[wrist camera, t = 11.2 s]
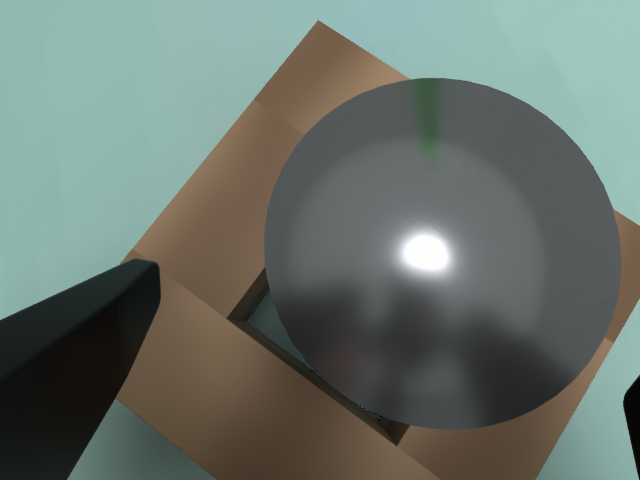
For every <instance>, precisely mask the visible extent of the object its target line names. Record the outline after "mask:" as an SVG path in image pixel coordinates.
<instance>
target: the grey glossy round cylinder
mask: <svg viewBox="0 0 640 480" xmlns="http://www.w3.org/2000/svg"><path fill="white" fill-rule="evenodd" d="M264 258H265V267H266V276H267V280H268V284H269V288H270V292H271V296H272V299H273V302H274V305H275V307H276V310H277V312H278V315H279V317H280V320H281V322H282V324H283V326H284V327H285V329H286V331H287V333H288V335H289V336H290V338H291V340H292V342H293V343H294V345H295V346H296V347H297V349H298V350H299V351H300V353H301V354H302V355H303V357H304V358H305V360H306V361H307V362H308V363H309V364H310V365H311V366H312V367H313V368H314V369H315V371H316V372H317V373H318V374H319V375H320V376H321V377H322V378H323V379H324V380H325V381H326V382H328V383H329V384H330V385H331V386H333V387H334V388H335V389H336V390H338V391H339V392H340V393H342V394H343V395H344V396H345V397H347V398H349V399H350V400H352V401H354V402H355V403H357V404H359V405H360V406H362V407H364V408H365V409H367V410H370V411H372V412H374V413H377V414H379V415H381V416H384V417H386V418H388V419H391V420H394V421H398V422H402V423H405V424H409V425H412V426H417V427H424V428H432V429H439V430H465V429H472V428H479V427H486V426H492V425H495V424H498V423H502V422H505V421H509V420H512V419H515V418H517V417H519V416H521V415H524V414H526V413H528V412H530V411H532V410H535V409H536V408H538V407H540V406H541V405H543V404H544V403H546V402H547V401H549V400H550V399H552V398H553V397H555V396H556V395H558V394H559V393H560V392H561V391H562V390H563V389H564V388H566V387H567V386H568V385H569V384H570V383H571V382H572V381H574V380H575V378H576V377H577V376H578V375H579V374H580V373H581V371H582V370H583V369H584V368H585V367H586V366H587V364H588V363H589V362H590V361H591V359H592V357H593V356H594V354H595V353H596V351H597V349H598V348H599V346H600V345H601V343H602V341H603V339H604V337H605V334H606V332H607V330H608V328H609V325H610V323H611V321H612V318H613V314H614V311H615V307H616V304H617V300H618V295H619V288H620V280H621V246H620V239H619V231H618V226H617V223H616V219H615V215H614V211H613V207H612V205H611V202H610V200H609V197H608V195H607V193H606V190H605V188H604V185H603V184H602V182H601V180H600V178H599V176H598V175H597V173H596V171H595V169H594V167H593V166H592V164H591V163H590V162H589V160H588V159H587V157H586V156H585V155H584V153H583V152H582V151H581V149H580V148H579V147H578V146H577V145H576V143H575V142H574V141H573V140H572V139H571V138H570V137H569V136H568V135H567V134H566V133H565V132H564V131H563V130H562V129H561V128H560V127H559V126H557V125H556V124H555V123H554V122H553V121H552V120H550V119H549V118H548V117H547V116H545V115H544V114H542V113H541V112H539V111H538V110H536V109H535V108H533V107H532V106H530V105H529V104H527V103H525V102H523V101H521V100H519V99H517V98H515V97H513V96H511V95H509V94H507V93H505V92H502V91H499V90H496V89H494V88H491V87H488V86H485V85H481V84H476V83H472V82H468V81H462V80H454V79H445V78H421V79H413V80H405V81H399V82H395V83H391V84H387V85H383V86H379V87H377V88H374V89H371V90H369V91H366V92H363V93H361V94H359V95H357V96H355V97H353V98H351V99H350V100H348V101H346V102H344V103H342V104H341V105H339V106H338V107H336V108H335V109H334V110H332V111H331V112H329V113H328V114H327V115H325V116H324V117H323V118H322V119H321V120H320V121H318V122H317V123H316V124H315V125H314V126H313V127H312V128H311V129H310V130H309V131H308V132H307V133H306V134H305V136H304V137H303V138H302V139H301V140H300V142H299V143H298V144H297V145H296V146H295V148H294V149H293V151H292V153H291V154H290V156H289V157H288V159H287V161H286V162H285V164H284V165H283V168H282V170H281V172H280V174H279V176H278V179H277V181H276V183H275V185H274V188H273V192H272V195H271V198H270V202H269V205H268V210H267V216H266V222H265V229H264Z"/></svg>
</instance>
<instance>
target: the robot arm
mask: <svg viewBox="0 0 640 480" xmlns="http://www.w3.org/2000/svg"><path fill="white" fill-rule="evenodd" d="M160 301H161V284H160V268H159V265H158V263H156V262H155V261H151V260H146V259H141V258H134V259H131V260H129V261H127V262H125V263H123V264H121V265H118V266H116V267H114V268H112V269H110V270H108V271H105V272H103V273H101V274H99V275H97V276H95V277H92V278H90V279H88V280H86V281H84V282H82V283H79V284H77V285H75V286H73V287H71V288H69V289H66V290H64V291H62V292H60V293H58V294H56V295H53V296H51V297H49V298H47V299H45V300H43V301H40V302H38V303H36V304H34V305H32V306H30V307H28V308H25V309H23V310H21V311H19V312H17V313H15V314H12V315H10V316H8V317H6V318H4V319H2V320H0V480H67V479H68V477H69V475H70V474H71V472H72V470H73V468H74V467H75V465H76V463H77V462H78V460H79V458H80V457H81V455H82V453H83V452H84V450H85V448H86V447H87V445H88V443H89V442H90V440H91V438H92V436H93V435H94V433H95V431H96V430H97V428H98V426H99V425H100V423H101V421H102V420H103V418H104V416H105V415H106V413H107V411H108V410H109V408H110V406H111V404H112V403H113V401H114V399H115V398H116V396H117V394H118V393H119V391H120V389H121V387H122V386H123V384H124V382H125V380H126V379H127V377H128V374H129V372H130V370H131V368H132V366H133V364H134V362H135V359H136V357H137V355H138V353H139V350H140V348H141V346H142V344H143V342H144V339H145V337H146V335H147V333H148V330H149V328H150V326H151V324H152V322H153V319H154V317H155V315H156V313H157V310H158V308H159V305H160ZM623 407H624V412H625V416H626V421H627V426H628V430H629V435H630V440H631V444H632V449H633V454H634V458H635V463H636V468H637V472H638V477H639V480H640V375H639V377H638V378H637V379H636V380H635V382H634V383H633V384H632V385H631V387H630V388H629V389H628V390H627V392H626V393H625V396H624V400H623Z"/></svg>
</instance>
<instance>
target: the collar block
mask: <svg viewBox="0 0 640 480" xmlns="http://www.w3.org/2000/svg"><path fill="white" fill-rule="evenodd" d="M405 80H411V79H409V78H408V77H406V76H405V75H403V74H401V73H400V72H398V71H397V70H395V69H394V68H392V67H391V66H389V65H387V64H386V63H384V62H383V61H381V60H380V59H378V58H376V57H375V56H373V55H372V54H370V53H369V52H367V51H366V50H364V49H362V48H361V47H359V46H358V45H356V44H355V43H353V42H351V41H350V40H348V39H347V38H345V37H344V36H342V35H341V34H339V33H337V32H336V31H334V30H333V29H331V28H330V27H328V26H326V25H325V24H323V23H322V22H320V21H319V20H318V21H317V22H316V24H315V25H314V26H313V27H312V29H311V30H310V31H309V32H308V33H307V35H306V36H305V37H304V38H303V40H302V41H301V42H300V43H299V45H298V46H297V47H296V48H295V49H294V51H293V52H292V53H291V54H290V56H289V57H288V58H287V59H286V61H285V62H284V63H283V64H282V65H281V67H280V68H279V69H278V70H277V72H276V73H275V74H274V75H273V77H272V78H271V79H270V80H269V81H268V83H267V84H266V85H265V86H264V88H263V89H262V90H261V91H260V93H259V94H258V95H257V96H256V97H255V99H254V100H253V101H252V102H251V104H250V105H249V106H248V107H247V109H246V110H245V111H244V112H243V113H242V115H241V116H240V117H239V118H238V120H237V121H236V122H235V123H234V125H233V126H232V127H231V128H230V129H229V131H228V132H227V133H226V134H225V136H224V137H223V138H222V139H221V141H220V142H219V143H218V144H217V145H216V147H215V148H214V149H213V150H212V152H211V153H210V154H209V155H208V156H207V158H206V159H205V160H204V161H203V163H202V164H201V165H200V166H199V168H198V169H197V170H196V171H195V172H194V174H193V175H192V176H191V177H190V179H189V180H188V181H187V182H186V184H185V185H184V186H183V187H182V188H181V190H180V191H179V192H178V193H177V195H176V196H175V197H174V198H173V200H172V201H171V202H170V203H169V204H168V206H167V207H166V208H165V209H164V211H163V212H162V213H161V214H160V216H159V217H158V218H157V219H156V220H155V222H154V223H153V224H152V225H151V227H150V228H149V229H148V230H147V232H146V233H145V234H144V235H143V236H142V238H141V239H140V240H139V241H138V243H137V244H136V245H135V246H134V248H133V249H132V250H131V251H130V252H129V254H128V255H127V256H126V257H125V259H124V260H123V261H122V262H121V264H123V263H125V262H127V261H129V260H131V259H134V258H141V259H146V260H151V261H155V262H156V263H158V265H159V268H160V284H161V301H160V305H159V308H158V310H157V313H156V315H155V317H154V319H153V322H152V324H151V326H150V328H149V330H148V333H147V335H146V337H145V339H144V342H143V344H142V346H141V348H140V350H139V353H138V355H137V357H136V359H135V362H134V364H133V366H132V368H131V370H130V372H129V374H128V377H127V379H126V380H125V382H124V384H123V386H122V387H121V389H120V391H119V393H118V394H117V396H116V399H117V400H119V401H120V402H121V403H122V404H124V405H125V406H126V407H127V408H129V409H130V410H131V411H132V412H134V413H135V414H136V415H137V416H139V417H140V418H141V419H142V420H144V421H145V422H146V423H147V424H149V425H150V426H151V427H152V428H154V429H155V430H156V431H157V432H159V433H160V434H161V435H162V436H164V437H165V438H166V439H167V440H169V441H170V442H171V443H172V444H174V445H175V446H176V447H177V448H179V449H180V450H181V451H182V452H184V453H185V454H186V455H187V456H189V457H190V458H191V459H192V460H194V461H195V462H196V463H197V464H199V465H200V466H201V467H202V468H204V469H205V470H206V471H207V472H209V473H210V474H211V475H212V476H214V477H215V478H216V479H217V480H535V479H536V477H537V476H538V474H539V472H540V470H541V469H542V467H543V465H544V463H545V462H546V460H547V458H548V457H549V455H550V453H551V451H552V450H553V448H554V446H555V444H556V443H557V441H558V439H559V437H560V436H561V434H562V432H563V431H564V429H565V427H566V425H567V424H568V422H569V420H570V418H571V417H572V415H573V413H574V411H575V410H576V408H577V406H578V404H579V403H580V401H581V399H582V398H583V396H584V394H585V392H586V391H587V389H588V387H589V385H590V384H591V382H592V380H593V378H594V377H595V375H596V373H597V371H598V370H599V368H600V366H601V365H602V363H603V361H604V359H605V358H606V356H607V354H608V352H609V351H610V349H611V347H612V345H613V344H614V342H615V340H616V339H617V337H618V335H619V333H620V332H621V330H622V328H623V326H624V325H625V323H626V321H627V319H628V318H629V316H630V314H631V312H632V311H633V309H634V307H635V306H636V304H637V302H638V300H639V299H640V226H639V225H637V224H636V223H634V222H633V221H631V220H629V219H628V218H626V217H625V216H623V215H622V214H620V213H619V212H617V211H615V210H614V209H613V211H614V215H615V219H616V223H617V226H618V231H619V239H620V246H621V280H620V288H619V295H618V300H617V304H616V307H615V311H614V314H613V318H612V321H611V323H610V325H609V328H608V330H607V332H606V334H605V337H604V339H603V341H602V343H601V345H600V346H599V348H598V349H597V351H596V353H595V354H594V356H593V357H592V359H591V361H590V362H589V363H588V364H587V366H586V367H585V368H584V369H583V370H582V371H581V373H580V374H579V375H578V376H577V377H576V378H575V380H574V381H572V382H571V383H570V384H569V385H568V386H567V387H566V388H564V389H563V390H562V391H561V392H560V393H559V394H558V395H556V396H555V397H553V398H552V399H550V400H549V401H547V402H546V403H544V404H543V405H541V406H540V407H538V408H536V409H535V410H532V411H530V412H528V413H526V414H524V415H521V416H519V417H517V418H515V419H512V420H509V421H505V422H502V423H498V424H495V425H492V426H486V427H479V428H472V429H465V430H439V429H432V428H424V427H417V426H412V425H409V424H405V423H402V422H398V421H394V420H391V419H388V418H386V417H384V416H382V417H381V419H380V420H379V421H378V420H377V419H376V418H374V417H373V416H372V415H370V414H369V413H368V412H366V411H365V410H364V409H362V408H361V407H360V406H358V405H357V404H356V403H354V402H353V401H352V400H350V399H349V398H347V397H345V396H344V395H343V394H342V393H340V392H339V391H338V390H336V389H335V388H334V387H333V386H331V385H330V384H329V383H327V382H326V381H325V380H323V379H322V378H321V377H319V376H318V375H317V374H315V373H314V372H313V371H311V370H310V369H309V368H307V367H306V366H305V365H303V364H302V363H301V362H299V361H298V360H297V359H295V358H294V357H293V356H291V355H290V354H289V353H287V352H286V351H285V350H283V349H282V348H281V347H279V346H278V345H277V344H275V343H274V342H273V341H271V340H270V339H268V338H267V337H266V336H264V335H263V334H262V333H260V332H259V331H258V330H256V329H255V328H254V327H252V326H251V325H250V324H248V323H247V322H246V321H247V319H248V318H249V317H250V315H251V314H252V313H253V311H254V310H255V309H256V307H257V306H258V304H259V303H260V302H261V300H262V299H263V298H264V296H265V295H266V294H267V292H268V291H269V290H270V288H269V284H268V280H267V276H266V267H265V258H264V229H265V222H266V216H267V210H268V205H269V202H270V198H271V195H272V192H273V188H274V185H275V183H276V181H277V179H278V176H279V174H280V172H281V170H282V168H283V165H284V164H285V162H286V161H287V159H288V157H289V156H290V154H291V153H292V151H293V149H294V148H295V146H296V145H297V144H298V143H299V142H300V140H301V139H302V138H303V137H304V136H305V134H306V133H307V132H308V131H309V130H310V129H311V128H312V127H313V126H314V125H315V124H316V123H317V122H318V121H320V120H321V119H322V118H323V117H324V116H325V115H327V114H328V113H329V112H331V111H332V110H334V109H335V108H336V107H338V106H339V105H341V104H342V103H344V102H346V101H348V100H350V99H351V98H353V97H355V96H357V95H359V94H361V93H363V92H366V91H369V90H371V89H374V88H377V87H379V86H383V85H387V84H391V83H395V82H399V81H405ZM121 264H120V265H121Z"/></svg>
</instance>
